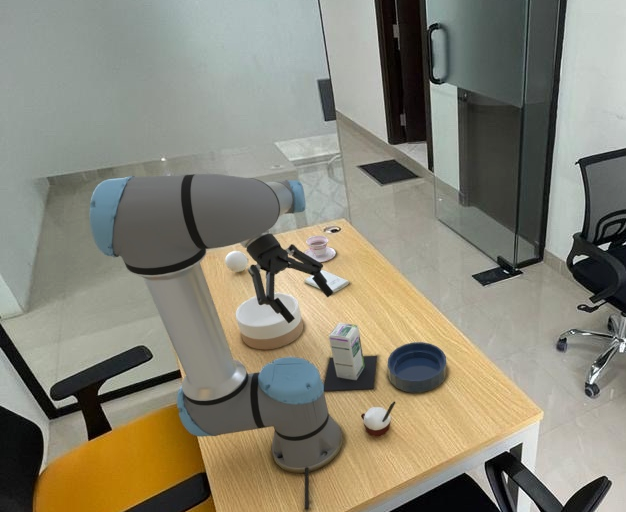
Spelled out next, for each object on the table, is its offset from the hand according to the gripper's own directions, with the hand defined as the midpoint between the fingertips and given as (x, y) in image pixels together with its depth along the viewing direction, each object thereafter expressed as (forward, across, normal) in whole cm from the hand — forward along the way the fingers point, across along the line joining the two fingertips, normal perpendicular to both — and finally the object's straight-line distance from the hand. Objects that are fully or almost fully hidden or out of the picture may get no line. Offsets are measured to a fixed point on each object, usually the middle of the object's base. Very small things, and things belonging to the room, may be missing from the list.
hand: (312, 307), depth 128 cm
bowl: (-2, +2, +28) cm, 28 cm away
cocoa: (+34, -12, -8) cm, 37 cm away
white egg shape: (-31, +20, +52) cm, 64 cm away
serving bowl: (+31, +10, -5) cm, 33 cm away
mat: (+20, 0, +6) cm, 21 cm away
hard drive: (-6, +30, +32) cm, 44 cm away
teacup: (-18, +43, +44) cm, 64 cm away
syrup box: (+20, 0, +6) cm, 21 cm away
